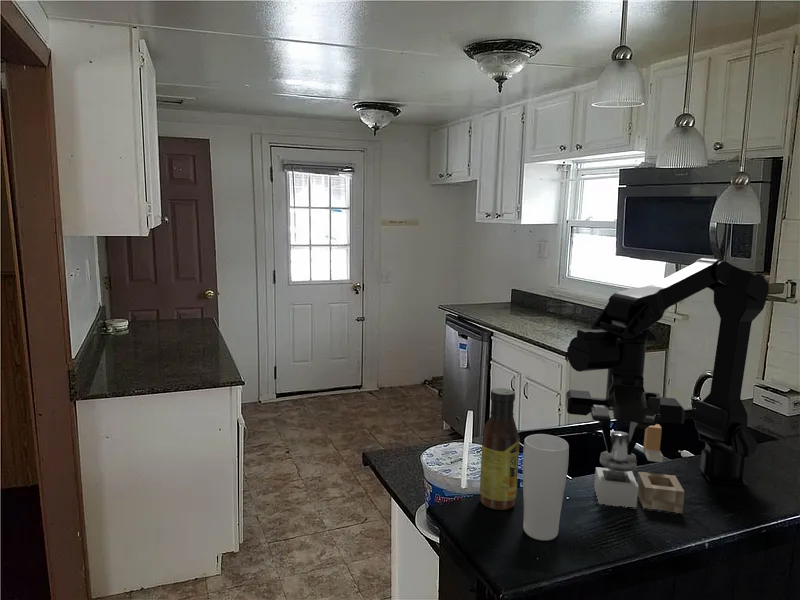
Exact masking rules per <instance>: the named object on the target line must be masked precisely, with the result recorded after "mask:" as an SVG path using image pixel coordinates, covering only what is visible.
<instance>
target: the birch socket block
mask: <svg viewBox="0 0 800 600" xmlns="http://www.w3.org/2000/svg"><path fill="white" fill-rule="evenodd" d="M636 480H637V481H636V482H637V485H638V496H637V498H638V497H639V498H638V500H639V499H640V500H639V502H641V503H640V505H641V504H642V505H641V507H642V506H643V508H648V509H659V510H665V511H669V512H676V513H675V514H677V513H682V514H683V511H684V500H685V489H683V486H682V485H681V483H680V481H679V479H678V478H677V476H676V475H672V474H666V473H665V474H664V473H663V474H662V473H654V472H645V471H638V472H637V479H636ZM643 508H642V509H643ZM669 512H668V513H669Z"/></svg>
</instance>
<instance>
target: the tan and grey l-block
mask: <svg viewBox="0 0 800 600" xmlns="http://www.w3.org/2000/svg"><path fill="white" fill-rule="evenodd" d="M662 429H663V428H662V426H661V425H660V424H658V423H656V425H655V426H649V427H647V428H646V429H645V430H644V437H643V438H644V439H643V448H642V451H643V453H644V456H645V457H646V460H647V461H649V462H658V463H663V460H664V459H663V458H664V455H663V454H662V451H661V440H662V431H663V430H662Z"/></svg>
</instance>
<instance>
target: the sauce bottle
mask: <svg viewBox="0 0 800 600" xmlns="http://www.w3.org/2000/svg"><path fill="white" fill-rule="evenodd" d="M490 400H491V402H490V403H491V404H490V411H489V412H490V413H489V414H490V417H489V419H487V421H486V423H485V425H484V426H483V432H482V442H481V455H480V457H481V460H480V461H481V462H480V480H479V483H480V484H479V487H480V488H479V493H480V495H479V500H480V503H481V504H482V505H483V506H484V507H486V508H488V509H492V510H497V511H505V510H510V509H512V508H513V507H514V506H515V503H516V498H517V492H518V491H517V490H518V489H517V488H518V476H519V475H518V473H519V455H520V454H519V453H520V433H519V432H518V429H517V425H516V421H515V418H514V415H515V414H514V406H515V405H514V403H515V400H516V392H515V390H513V389H510V388H504V387H498V388H493V389H491V390H490Z"/></svg>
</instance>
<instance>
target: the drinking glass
mask: <svg viewBox="0 0 800 600" xmlns="http://www.w3.org/2000/svg"><path fill="white" fill-rule="evenodd" d="M523 441H524V442H523V450H522V452H523V453H522V464H521V465H522V492H523V493H522V497H523V499H522V500H523V501H522V502H523V523H522V527H523V532H525V534H526V535H527V536H528V537H530V538H532V539H534V540H537V541H546V542H547V541H551V540H552V541H553V540H554V539H556V537H557V536H558V534H559V529H560V528H559V527H560V520H561V519H560V518H561V512H562V505H563V499H564V494H565V489H566V488H565V487H566V482H567V477H568V476H567V475H568V468H569V458H570V457H569V454H570V453H569V450H570V445H569V443H568V441H566V440H565V439H564V438H561V437H559V436H557V435H551V434H545V433H537V434H530V435H528V436H526V437H525V438H524V439H523Z"/></svg>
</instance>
